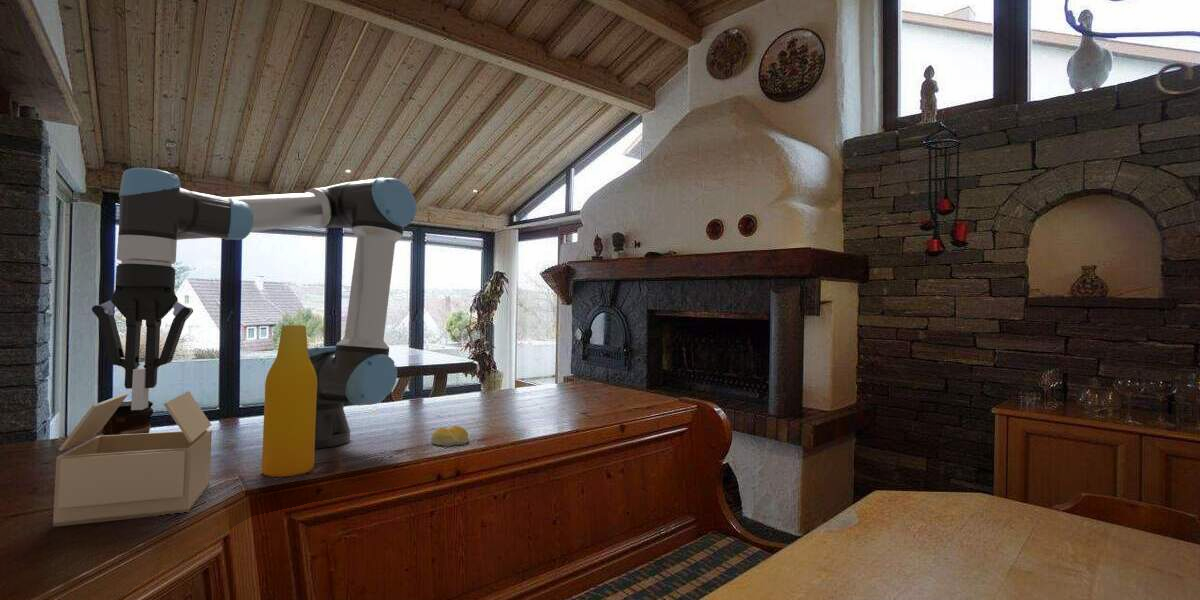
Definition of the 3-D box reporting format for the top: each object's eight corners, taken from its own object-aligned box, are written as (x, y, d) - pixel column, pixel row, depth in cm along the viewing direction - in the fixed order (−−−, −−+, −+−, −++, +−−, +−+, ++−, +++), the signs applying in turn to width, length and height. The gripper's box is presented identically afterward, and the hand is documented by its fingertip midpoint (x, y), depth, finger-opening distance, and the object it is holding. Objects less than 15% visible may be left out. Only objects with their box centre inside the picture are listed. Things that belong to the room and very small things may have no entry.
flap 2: (209, 426, 100) (211, 424, 100) (189, 442, 87) (192, 441, 87) (186, 392, 98) (188, 390, 98) (163, 404, 86) (166, 402, 86)
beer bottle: (317, 463, 116) (322, 325, 117) (310, 475, 107) (316, 326, 108) (267, 466, 113) (272, 324, 114) (255, 479, 104) (262, 325, 105)
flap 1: (128, 393, 95) (126, 392, 95) (95, 406, 82) (92, 405, 82) (99, 431, 93) (97, 430, 93) (61, 450, 80) (58, 449, 80)
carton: (210, 484, 100) (212, 428, 101) (187, 514, 86) (190, 449, 86) (96, 494, 94) (99, 434, 94) (50, 528, 79) (54, 458, 79)
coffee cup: (163, 464, 112) (166, 400, 113) (124, 476, 104) (128, 407, 104) (124, 462, 113) (128, 399, 113) (83, 474, 105) (86, 405, 105)
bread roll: (427, 441, 139) (428, 425, 139) (462, 438, 143) (463, 422, 144) (435, 448, 132) (436, 431, 132) (472, 444, 136) (472, 428, 136)
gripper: (200, 268, 97) (193, 403, 96) (104, 263, 91) (97, 406, 90) (189, 264, 90) (182, 410, 89) (85, 259, 84) (77, 414, 84)
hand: (139, 408), depth 90 cm, fingers closed
